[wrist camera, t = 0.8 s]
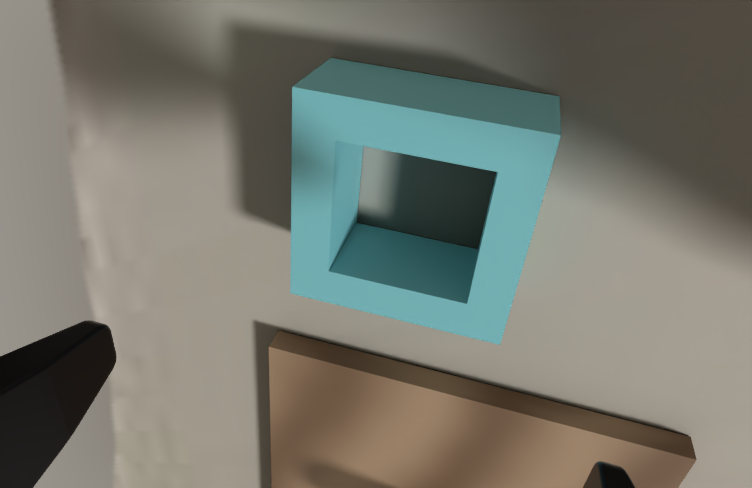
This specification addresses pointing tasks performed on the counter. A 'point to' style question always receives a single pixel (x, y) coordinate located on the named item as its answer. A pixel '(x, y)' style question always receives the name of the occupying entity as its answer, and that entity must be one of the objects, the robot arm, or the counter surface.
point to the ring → (428, 140)
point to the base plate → (440, 429)
